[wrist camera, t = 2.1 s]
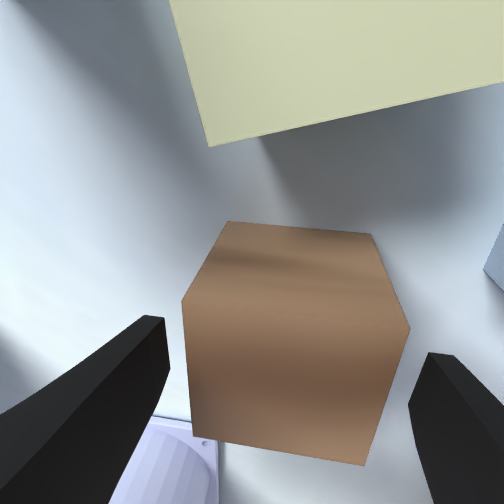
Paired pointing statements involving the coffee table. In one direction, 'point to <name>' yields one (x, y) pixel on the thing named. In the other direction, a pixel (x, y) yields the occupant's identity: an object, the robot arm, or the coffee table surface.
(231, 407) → the walnut cube
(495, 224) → the coffee table surface
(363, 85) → the olive cube
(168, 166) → the coffee table surface
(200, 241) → the coffee table surface
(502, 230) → the base slab
